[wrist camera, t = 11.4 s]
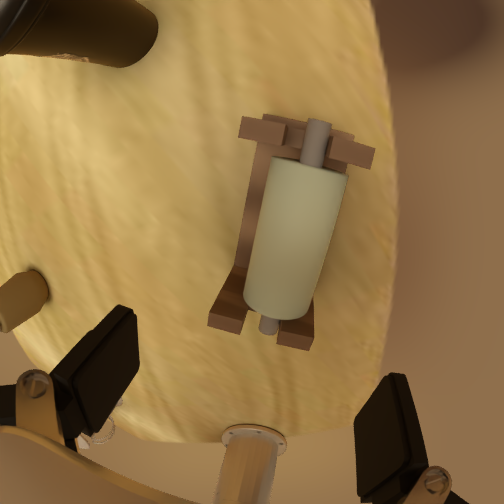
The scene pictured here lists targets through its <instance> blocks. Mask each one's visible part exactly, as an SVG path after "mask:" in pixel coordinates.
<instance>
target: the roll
mask: <svg viewBox="0 0 504 504" xmlns="http://www.w3.org/2000/svg"><path fill="white" fill-rule="evenodd" d="M331 126H332V124H330V123H327V122H324V121H320V120H316V119H310V118H309V119H308V123H307V128H306V132H305V137H304V141H303V146H302V151H301V155H300V160H298V159H293V158H288V157H281V156H272V157H271V162H270V167H269V172H268V176H267V181H266V186H265V191H264V196H263V200H262V205H261V210H260V215H259V220H258V224H257V229H256V234H255V239H254V244H253V249H252V253H251V258H250V263H249V268H248V273H247V277H246V282H245V287H244V292H243V297H244V300H245V302H246V303H247V304H248V305H249V306H250V307H251V308H252V309H253V310H255V311H256V312H258V313H260V314H262V316H261V320H260V324H259V330H260V332H262V333H263V334H265V335H274V334H276V333H277V330H278V327H279V323H280V320H292V319H297V318H300V317H302V316H304V315H305V314H306V313H307V311H308V309H309V306H310V303H311V300H312V297H313V294H314V291H315V288H316V285H317V282H318V279H319V276H320V273H321V270H322V267H323V263H324V260H325V257H326V254H327V251H328V247H329V244H330V241H331V237H332V234H333V231H334V227H335V224H336V220H337V217H338V213H339V210H340V206H341V202H342V199H343V195H344V191H345V187H346V184H347V180H348V175H347V174H345V173H343V172H340V171H338V170H335V169H332V168H329V167H325V166H323V161H324V157H325V153H326V148H327V144H328V140H329V135H330V131H331Z"/></svg>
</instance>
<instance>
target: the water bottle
mask: <svg viewBox="0 0 504 504" xmlns="http://www.w3.org/2000/svg"><path fill="white" fill-rule="evenodd" d="M157 33H158V22H157V19H156V17H155V15H154V14H153V13H152V12H150V11H149V10H148V9H146V8H145V7H143V6H142V5H141V4H139V3H138V2H136V1H135V0H0V56H4V55H6V54H18V55H33V56H39V57H50V58H59V59H67V60H69V59H70V60H74V61H81V62H90V63H96V64H101V65H106V66H111V67H117V68H122V67H127V66H130V65H132V64H134V63H136V62H137V61H139V60H140V59H141V58H142V57H144V56H145V55H146V54H147V52H148V51H149V50H150V49H151V47H152V45H153V44H154V42H155V39H156V37H157Z"/></svg>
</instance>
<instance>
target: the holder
mask: <svg viewBox="0 0 504 504" xmlns="http://www.w3.org/2000/svg"><path fill="white" fill-rule="evenodd" d="M306 128H307V123H306V122H301V121H297V120H293V119H288V118H283V117H278V116H273V115H268V114H263V118H262V120H261V119H256V118H250V117H244V116H242V120H241V125H240V130H239V135H238V138H243V139H248V140H254V141H258V143H257V148H256V153H255V158H254V163H253V168H252V173H251V178H250V183H249V188H248V193H247V199H246V204H245V209H244V214H243V219H242V225H241V230H240V235H239V241H238V246H237V251H236V257H235V262H234V266H233V268H232V270H231V272H230V274H229V276H228V277H227V279H226V281H225V283H224V285H223V287H222V289H221V291H220V293H219V294H218V296H217V298H216V300H215V302H214V304H213V306H212V308H211V310H210V312H209V317H208V325H207V326H209V327H213V328H217V329H220V330H224V331H227V332H231V333H235V334H239V335H240V333H241V330H242V327H243V324H244V321H245V318H246V315H247V312H248V310H251V311H255V310H253V309H252V308H251V307H250V306H249V305H248V304H247V303H246V302H245V300H244V297H243V292H244V287H245V282H246V277H247V273H248V268H249V263H250V258H251V253H252V249H253V244H254V239H255V234H256V229H257V224H258V220H259V215H260V210H261V205H262V200H263V196H264V191H265V186H266V181H267V176H268V172H269V167H270V162H271V157H272V156H281V157H288V158H293V159H298V160H300V155H301V151H302V146H303V141H304V137H305V132H306ZM353 138H354V135H351V134H348V133H344V132H341V131H337V130H333V129H331V131H330V135H329V140H328V144H327V148H326V153H325V157H324V161H323V166H325V167H329V168H332V169H335V170H338V171H340V172H343V173H345V172H346V168H347V164H348V163H349V164H353V165H356V166H360V167H363V168H366V169H369V170H370V168H371V164H372V160H373V156H374V152H375V148H372V147H369V146H366V145H363V144H360V143H356V142H353ZM255 312H256V311H255ZM313 340H314V304H313V297H312V300H311V303H310V306H309V309H308V311H307V313H306V314H305V315H304V316H302V317H300V318H297V319H292V320H280V323H279V330H278V337H277V343H276V344H279V345H284V346H288V347H293V348H297V349H302V350H306V351H309V350H310V347H311V345H312V342H313Z"/></svg>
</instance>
